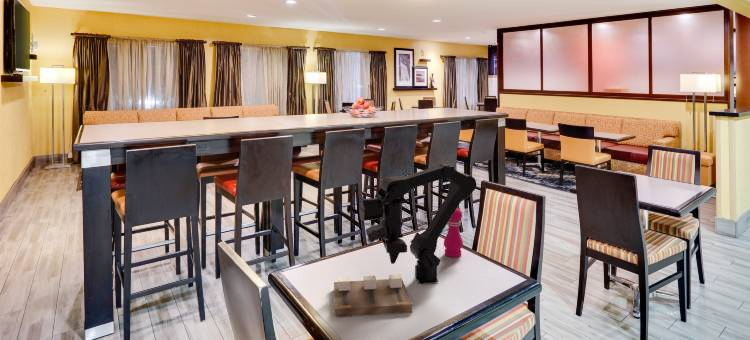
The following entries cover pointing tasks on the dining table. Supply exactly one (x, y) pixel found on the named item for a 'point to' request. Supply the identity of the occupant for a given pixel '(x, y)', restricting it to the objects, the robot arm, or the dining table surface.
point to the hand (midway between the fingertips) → (392, 263)
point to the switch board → (371, 299)
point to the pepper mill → (453, 236)
